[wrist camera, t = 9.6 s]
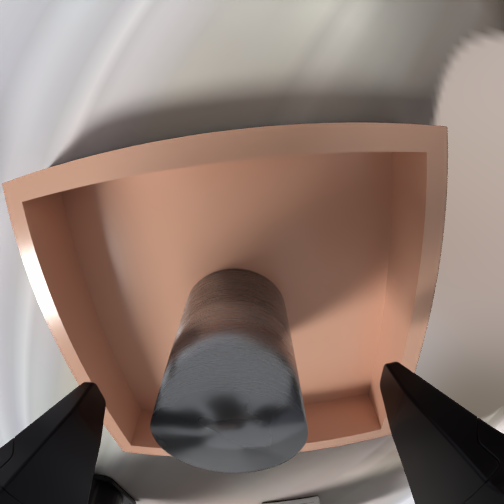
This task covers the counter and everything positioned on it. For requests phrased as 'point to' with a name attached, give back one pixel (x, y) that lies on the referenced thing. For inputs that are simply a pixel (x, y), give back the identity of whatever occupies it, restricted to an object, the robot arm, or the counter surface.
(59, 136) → the counter surface
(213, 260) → the shallow square tray
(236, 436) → the steel peg
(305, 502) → the small box
